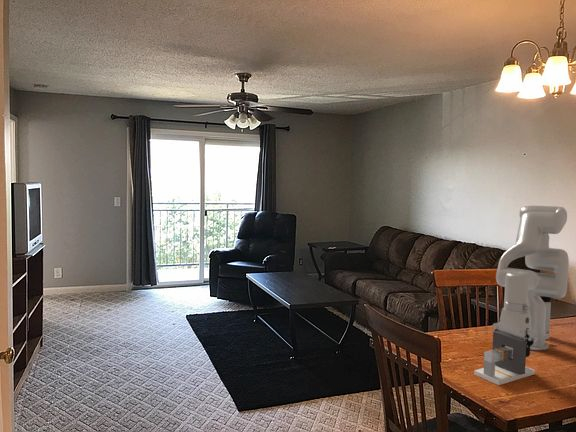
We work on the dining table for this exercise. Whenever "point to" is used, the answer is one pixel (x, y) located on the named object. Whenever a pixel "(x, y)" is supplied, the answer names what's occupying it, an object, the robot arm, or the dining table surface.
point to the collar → (519, 351)
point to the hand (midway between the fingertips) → (513, 352)
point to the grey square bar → (498, 354)
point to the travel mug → (547, 313)
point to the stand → (500, 373)
